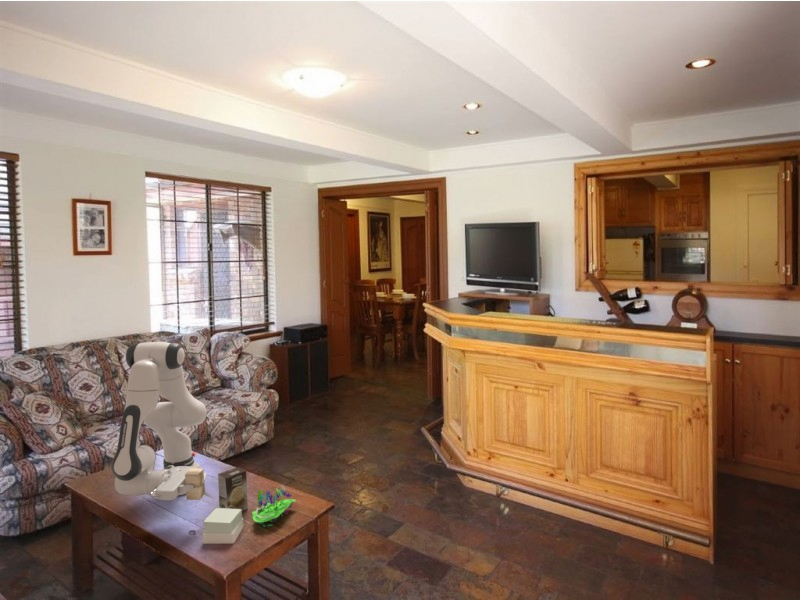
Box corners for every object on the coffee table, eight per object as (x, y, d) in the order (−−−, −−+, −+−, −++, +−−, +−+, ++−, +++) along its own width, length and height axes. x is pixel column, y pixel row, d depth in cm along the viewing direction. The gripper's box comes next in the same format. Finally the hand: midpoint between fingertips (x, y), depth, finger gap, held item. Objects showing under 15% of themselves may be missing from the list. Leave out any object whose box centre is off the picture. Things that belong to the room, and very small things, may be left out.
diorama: (240, 523, 205) (238, 492, 203) (281, 502, 220) (280, 474, 219) (263, 535, 196) (262, 502, 195) (304, 512, 212) (303, 482, 211)
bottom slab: (214, 528, 202) (214, 518, 202) (243, 528, 202) (243, 518, 202) (203, 544, 191) (202, 533, 191) (233, 544, 191) (233, 533, 191)
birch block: (192, 493, 204) (190, 468, 203) (205, 493, 204) (203, 468, 203) (186, 500, 199) (184, 474, 198) (200, 499, 199) (198, 474, 198)
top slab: (216, 518, 202) (216, 507, 201) (242, 519, 201) (241, 509, 200) (204, 532, 192) (203, 521, 191) (230, 533, 191) (230, 523, 190)
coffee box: (228, 518, 209) (226, 478, 207) (219, 513, 213) (217, 474, 211) (248, 508, 216) (246, 470, 214) (239, 504, 220) (237, 466, 218)
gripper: (146, 488, 190) (185, 488, 190) (171, 463, 211) (206, 463, 210) (148, 505, 191) (186, 504, 191) (172, 478, 212) (207, 478, 211)
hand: (197, 482), depth 201 cm, fingers closed on birch block, 5 cm apart
